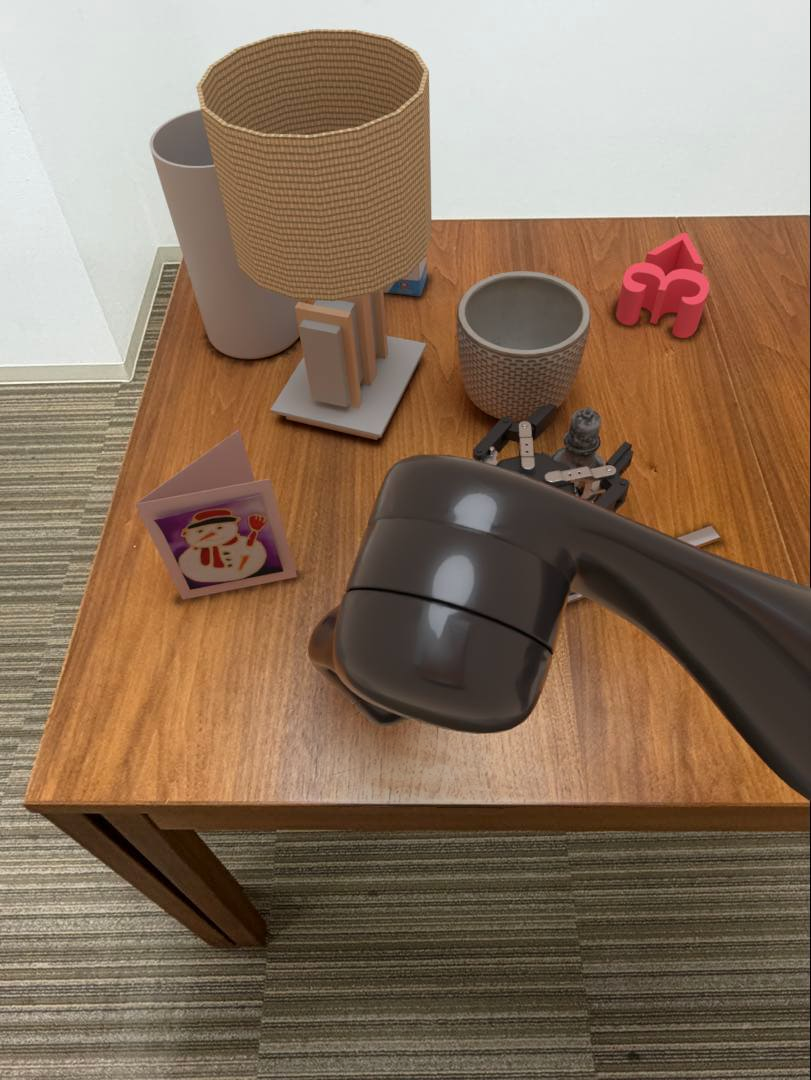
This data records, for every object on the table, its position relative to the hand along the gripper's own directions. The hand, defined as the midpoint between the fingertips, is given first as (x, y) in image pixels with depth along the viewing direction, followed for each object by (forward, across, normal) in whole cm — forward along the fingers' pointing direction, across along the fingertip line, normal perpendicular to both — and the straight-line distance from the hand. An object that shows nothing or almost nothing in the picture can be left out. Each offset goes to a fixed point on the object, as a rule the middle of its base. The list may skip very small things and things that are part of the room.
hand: (589, 429), depth 79 cm
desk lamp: (-4, +29, +8) cm, 30 cm away
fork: (-6, -10, +8) cm, 14 cm away
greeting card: (-30, +21, +8) cm, 38 cm away
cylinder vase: (-3, +46, +8) cm, 47 cm away
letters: (+33, +8, +8) cm, 35 cm away
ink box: (+15, +38, +8) cm, 42 cm away
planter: (+6, +12, +8) cm, 16 cm away
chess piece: (-1, 0, +8) cm, 9 cm away
